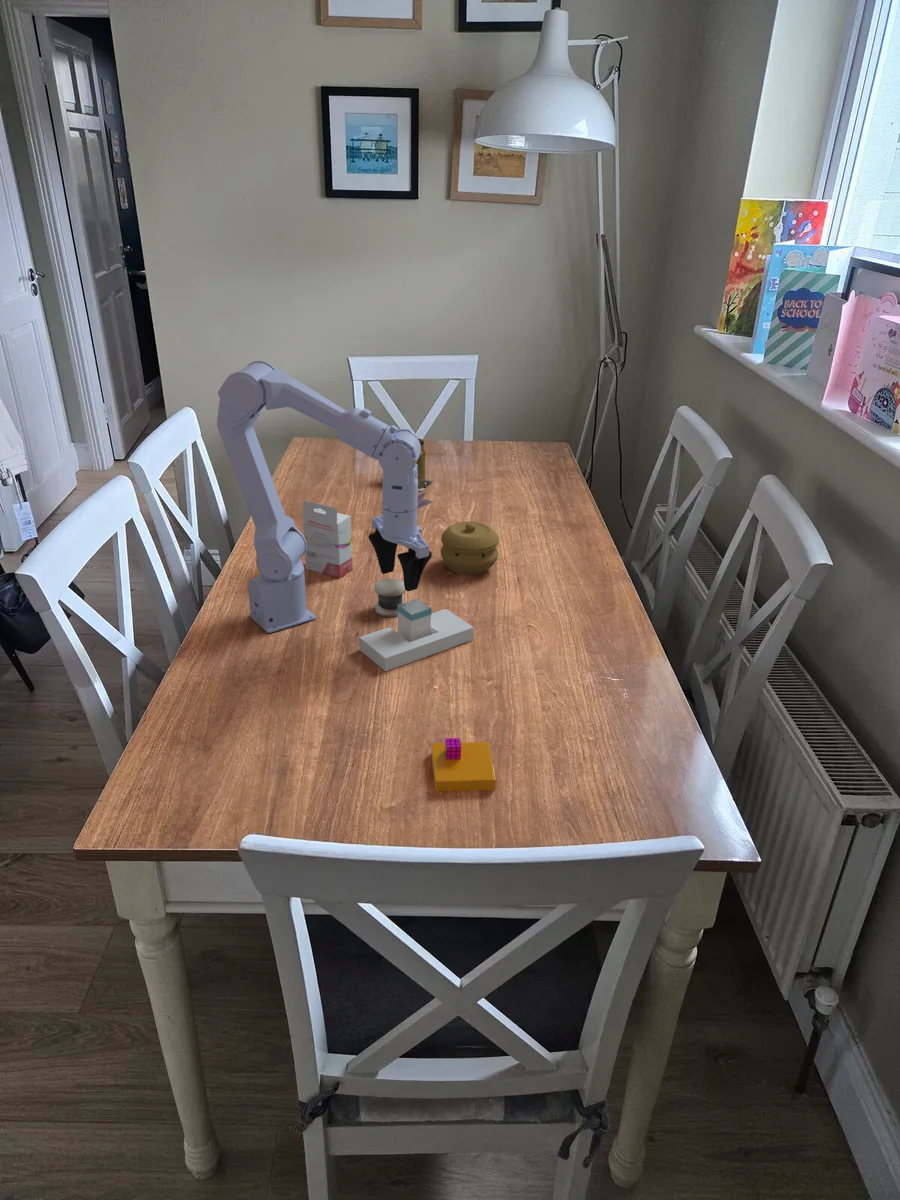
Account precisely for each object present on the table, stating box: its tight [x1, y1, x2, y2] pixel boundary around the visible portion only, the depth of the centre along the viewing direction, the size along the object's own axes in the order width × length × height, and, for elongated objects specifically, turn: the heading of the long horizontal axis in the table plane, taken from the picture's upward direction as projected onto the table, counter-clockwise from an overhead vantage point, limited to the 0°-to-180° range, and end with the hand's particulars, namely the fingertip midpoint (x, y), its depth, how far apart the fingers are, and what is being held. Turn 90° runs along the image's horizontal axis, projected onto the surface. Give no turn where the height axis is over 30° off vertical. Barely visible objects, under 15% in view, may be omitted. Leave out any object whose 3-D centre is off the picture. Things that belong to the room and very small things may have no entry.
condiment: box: [416, 437, 434, 492], centre depth 206 cm, size 7×8×12 cm
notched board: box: [358, 608, 475, 672], centre depth 137 cm, size 18×8×2 cm, turn 127°
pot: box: [440, 521, 500, 575], centre depth 163 cm, size 12×12×10 cm
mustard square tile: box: [430, 737, 497, 793], centre depth 109 cm, size 8×8×4 cm
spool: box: [374, 578, 407, 618], centre depth 148 cm, size 6×6×5 cm
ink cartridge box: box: [302, 499, 353, 579], centre depth 159 cm, size 9×5×15 cm, turn 62°
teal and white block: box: [397, 598, 433, 642], centre depth 137 cm, size 4×4×7 cm
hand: (399, 580), depth 139 cm, fingers open, 7 cm apart
